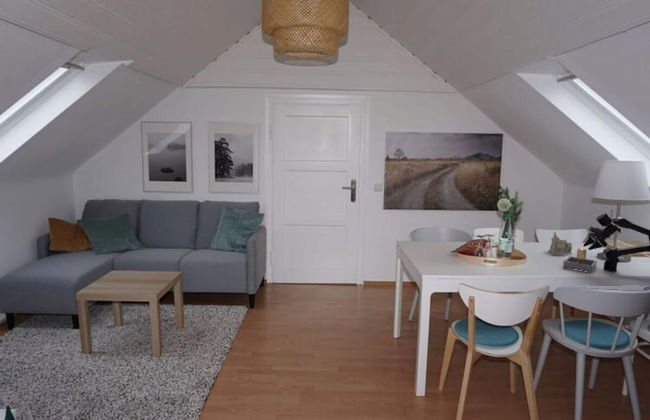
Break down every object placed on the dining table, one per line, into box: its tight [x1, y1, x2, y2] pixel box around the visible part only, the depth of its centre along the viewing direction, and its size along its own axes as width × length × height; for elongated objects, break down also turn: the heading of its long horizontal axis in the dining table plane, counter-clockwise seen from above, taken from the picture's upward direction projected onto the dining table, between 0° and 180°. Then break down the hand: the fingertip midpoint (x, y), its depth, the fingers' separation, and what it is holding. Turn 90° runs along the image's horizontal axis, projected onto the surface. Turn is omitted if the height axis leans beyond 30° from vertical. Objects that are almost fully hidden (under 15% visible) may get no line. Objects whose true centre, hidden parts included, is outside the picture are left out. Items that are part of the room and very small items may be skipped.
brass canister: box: [575, 248, 588, 264], centre depth 297 cm, size 5×5×11 cm
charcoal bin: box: [562, 255, 598, 273], centre depth 297 cm, size 16×16×4 cm
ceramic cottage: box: [547, 231, 573, 257], centre depth 332 cm, size 16×16×15 cm
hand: (586, 247), depth 295 cm, fingers open, 9 cm apart
